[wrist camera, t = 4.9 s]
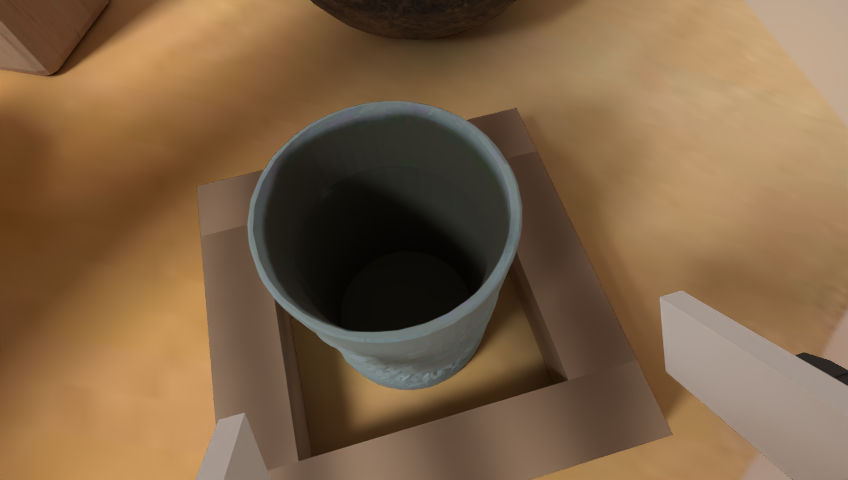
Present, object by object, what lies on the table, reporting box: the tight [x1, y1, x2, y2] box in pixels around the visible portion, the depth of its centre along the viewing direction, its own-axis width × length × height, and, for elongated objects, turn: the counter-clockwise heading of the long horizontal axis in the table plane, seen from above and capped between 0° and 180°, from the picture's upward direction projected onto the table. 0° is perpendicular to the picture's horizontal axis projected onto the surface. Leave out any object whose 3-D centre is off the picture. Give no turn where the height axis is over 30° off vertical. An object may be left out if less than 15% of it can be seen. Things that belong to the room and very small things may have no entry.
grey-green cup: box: [247, 101, 522, 390], centre depth 24 cm, size 10×10×12 cm
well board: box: [197, 108, 673, 480], centre depth 28 cm, size 20×20×3 cm
